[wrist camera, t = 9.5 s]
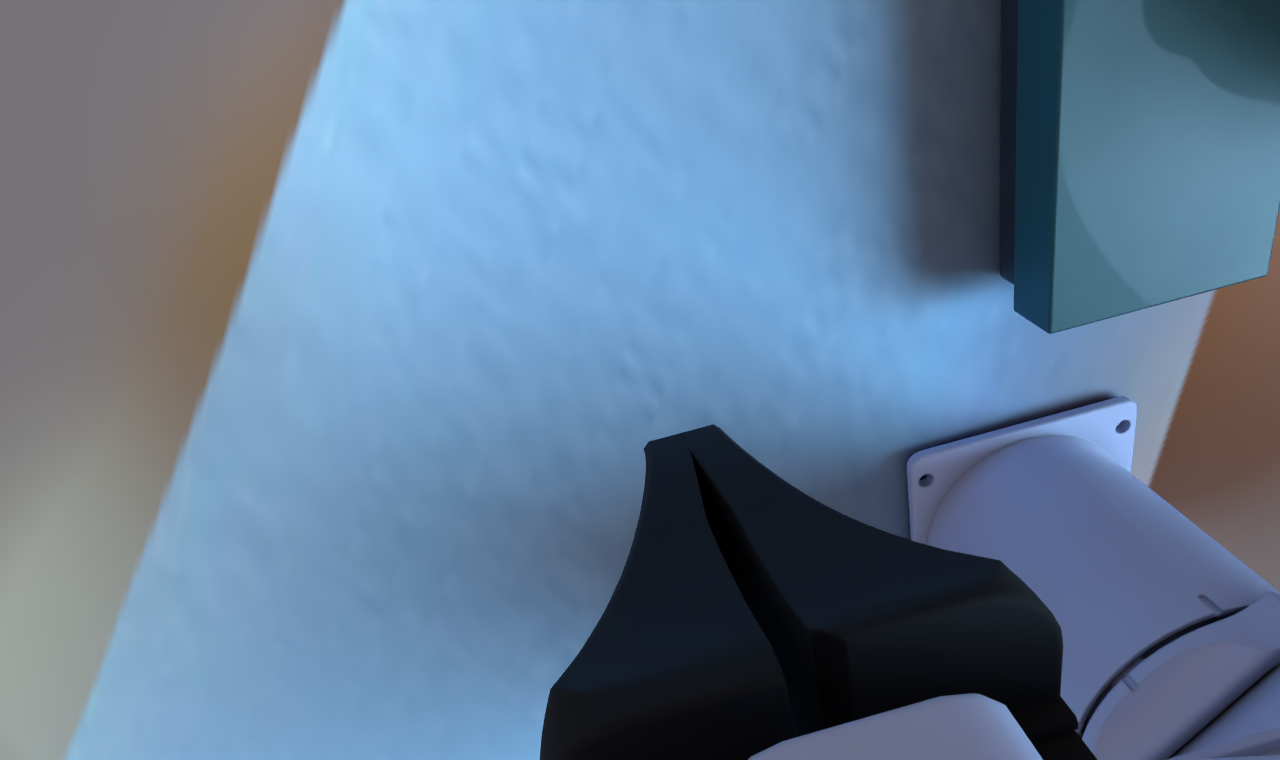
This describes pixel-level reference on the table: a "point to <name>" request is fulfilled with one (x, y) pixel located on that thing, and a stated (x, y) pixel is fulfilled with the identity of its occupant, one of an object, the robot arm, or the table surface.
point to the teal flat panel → (1135, 152)
